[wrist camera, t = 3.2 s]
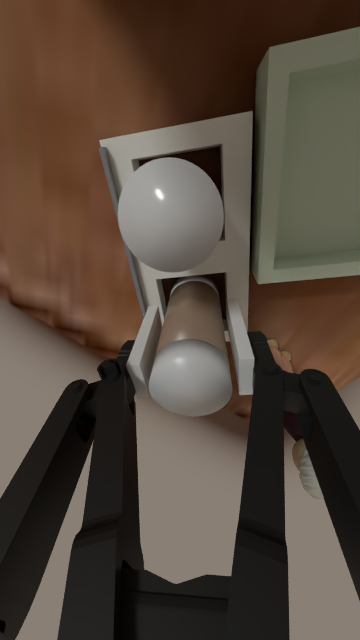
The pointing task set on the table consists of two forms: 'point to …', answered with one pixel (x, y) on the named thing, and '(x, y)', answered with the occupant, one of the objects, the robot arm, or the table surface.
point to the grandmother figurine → (296, 432)
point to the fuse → (170, 215)
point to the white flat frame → (236, 200)
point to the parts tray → (307, 160)
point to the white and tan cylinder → (192, 351)
